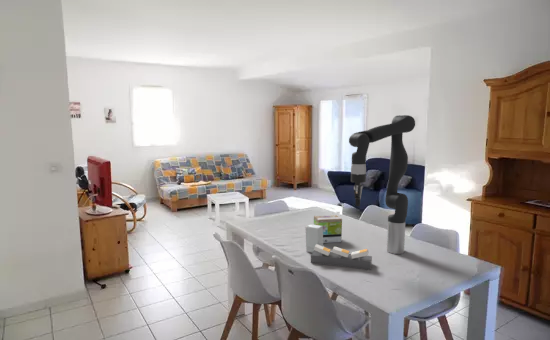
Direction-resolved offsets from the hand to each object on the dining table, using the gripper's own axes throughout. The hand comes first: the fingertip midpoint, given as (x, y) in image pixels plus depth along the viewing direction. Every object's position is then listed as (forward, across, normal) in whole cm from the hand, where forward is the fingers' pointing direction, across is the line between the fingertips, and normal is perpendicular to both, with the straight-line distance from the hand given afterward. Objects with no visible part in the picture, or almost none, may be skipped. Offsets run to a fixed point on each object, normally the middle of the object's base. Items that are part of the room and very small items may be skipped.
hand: (357, 205), depth 195 cm
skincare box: (+29, -6, -24) cm, 38 cm away
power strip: (+29, +7, -7) cm, 31 cm away
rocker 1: (+23, +9, -17) cm, 30 cm away
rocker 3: (+22, +9, +2) cm, 24 cm away
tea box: (+29, -28, -21) cm, 46 cm away
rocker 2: (+22, +9, -7) cm, 25 cm away
